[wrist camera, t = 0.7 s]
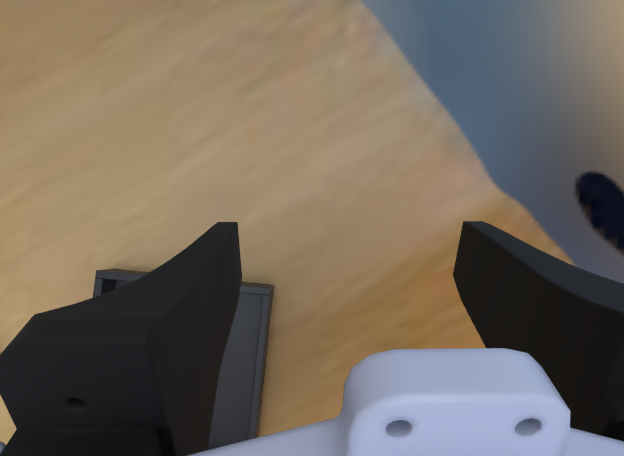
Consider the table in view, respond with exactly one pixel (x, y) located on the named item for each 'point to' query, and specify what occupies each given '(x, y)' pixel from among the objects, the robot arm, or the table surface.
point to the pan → (228, 359)
